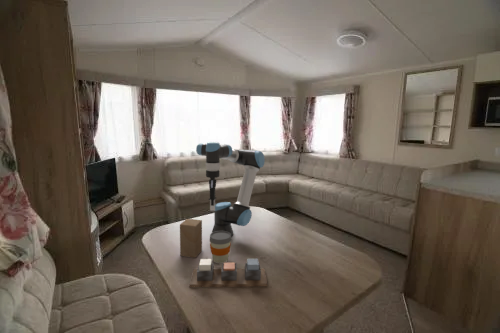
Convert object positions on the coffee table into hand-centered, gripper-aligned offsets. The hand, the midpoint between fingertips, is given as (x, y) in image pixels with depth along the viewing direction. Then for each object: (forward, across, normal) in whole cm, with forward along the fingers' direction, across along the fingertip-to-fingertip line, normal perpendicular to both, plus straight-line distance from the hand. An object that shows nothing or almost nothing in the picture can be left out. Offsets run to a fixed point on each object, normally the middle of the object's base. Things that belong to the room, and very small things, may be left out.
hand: (212, 210), depth 144 cm
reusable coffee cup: (+30, +2, +5) cm, 30 cm away
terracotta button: (+27, +21, +10) cm, 36 cm away
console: (+29, +21, +10) cm, 38 cm away
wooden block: (+30, -5, -13) cm, 33 cm away
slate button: (+25, +21, +22) cm, 40 cm away
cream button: (+25, +21, -2) cm, 33 cm away
